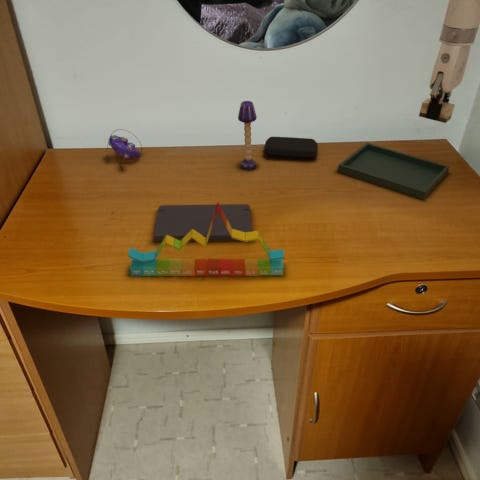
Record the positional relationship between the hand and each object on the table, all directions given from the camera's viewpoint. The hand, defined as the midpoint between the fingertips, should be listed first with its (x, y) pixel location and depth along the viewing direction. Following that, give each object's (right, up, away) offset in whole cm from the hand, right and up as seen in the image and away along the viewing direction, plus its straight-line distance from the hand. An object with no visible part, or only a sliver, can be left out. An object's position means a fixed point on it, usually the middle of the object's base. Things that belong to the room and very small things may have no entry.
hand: (435, 115), depth 121 cm
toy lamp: (-47, -10, +9) cm, 49 cm away
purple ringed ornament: (-81, -8, +11) cm, 83 cm away
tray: (-9, -13, +6) cm, 17 cm away
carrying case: (-35, -4, +15) cm, 38 cm away
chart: (-56, -42, -24) cm, 74 cm away
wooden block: (0, 0, 0) cm, 0 cm away
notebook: (-57, -30, -12) cm, 66 cm away
